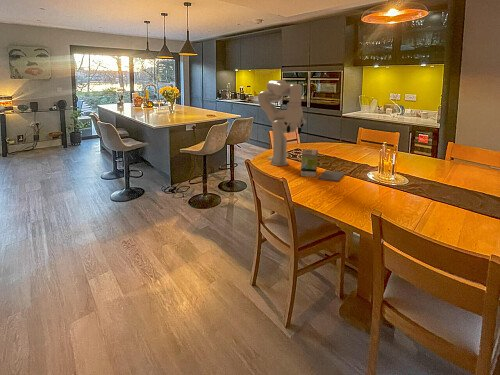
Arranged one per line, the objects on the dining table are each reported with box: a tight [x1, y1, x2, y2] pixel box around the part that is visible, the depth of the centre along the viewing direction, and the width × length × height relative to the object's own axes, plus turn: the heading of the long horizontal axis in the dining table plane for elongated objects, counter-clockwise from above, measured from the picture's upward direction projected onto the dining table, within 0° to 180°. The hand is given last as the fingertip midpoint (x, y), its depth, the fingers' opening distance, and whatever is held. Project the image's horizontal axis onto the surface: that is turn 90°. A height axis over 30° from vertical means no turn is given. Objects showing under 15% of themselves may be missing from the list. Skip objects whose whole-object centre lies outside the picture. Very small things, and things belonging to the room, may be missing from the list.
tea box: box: [300, 148, 319, 178], centre depth 222 cm, size 15×10×15 cm
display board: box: [316, 169, 346, 183], centre depth 218 cm, size 13×18×1 cm
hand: (293, 132), depth 221 cm, fingers open, 6 cm apart
